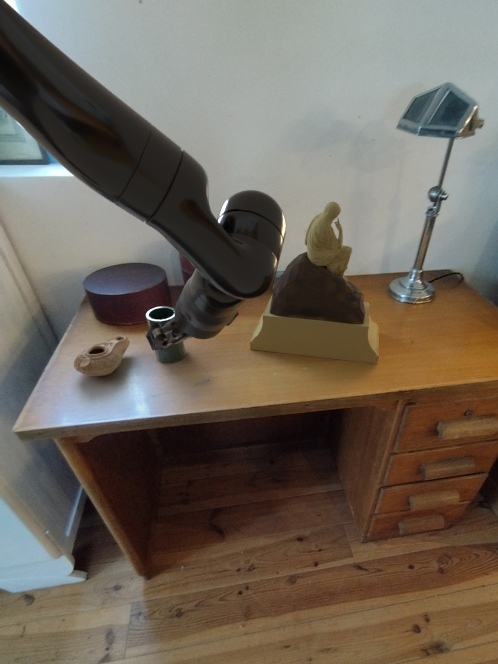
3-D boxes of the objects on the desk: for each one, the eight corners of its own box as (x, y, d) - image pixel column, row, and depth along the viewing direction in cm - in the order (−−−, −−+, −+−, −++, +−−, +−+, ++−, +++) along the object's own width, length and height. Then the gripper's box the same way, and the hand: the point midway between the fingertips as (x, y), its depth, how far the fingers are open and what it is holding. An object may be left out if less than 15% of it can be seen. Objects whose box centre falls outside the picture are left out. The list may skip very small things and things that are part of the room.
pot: (158, 365, 79) (147, 323, 73) (155, 350, 83) (144, 309, 77) (187, 359, 81) (179, 318, 75) (182, 344, 85) (174, 304, 79)
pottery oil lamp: (146, 351, 82) (140, 335, 76) (109, 395, 77) (99, 381, 71) (111, 331, 82) (102, 312, 76) (72, 373, 78) (59, 357, 71)
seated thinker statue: (377, 332, 92) (403, 195, 72) (377, 363, 82) (407, 215, 62) (263, 320, 94) (258, 184, 74) (250, 349, 85) (240, 202, 65)
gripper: (239, 268, 57) (211, 307, 71) (146, 293, 50) (135, 330, 64) (260, 315, 57) (228, 344, 71) (171, 345, 50) (155, 371, 64)
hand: (184, 338), depth 68 cm, fingers open, 8 cm apart
